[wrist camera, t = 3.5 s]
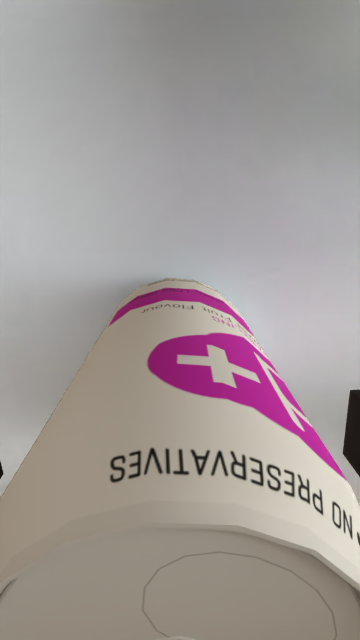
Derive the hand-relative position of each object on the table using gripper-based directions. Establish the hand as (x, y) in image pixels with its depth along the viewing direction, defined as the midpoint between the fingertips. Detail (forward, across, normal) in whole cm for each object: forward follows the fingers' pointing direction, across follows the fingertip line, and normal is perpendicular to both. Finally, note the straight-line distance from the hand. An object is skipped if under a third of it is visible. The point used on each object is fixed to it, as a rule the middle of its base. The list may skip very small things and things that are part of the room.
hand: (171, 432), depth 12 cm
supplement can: (+8, 0, 0) cm, 8 cm away
